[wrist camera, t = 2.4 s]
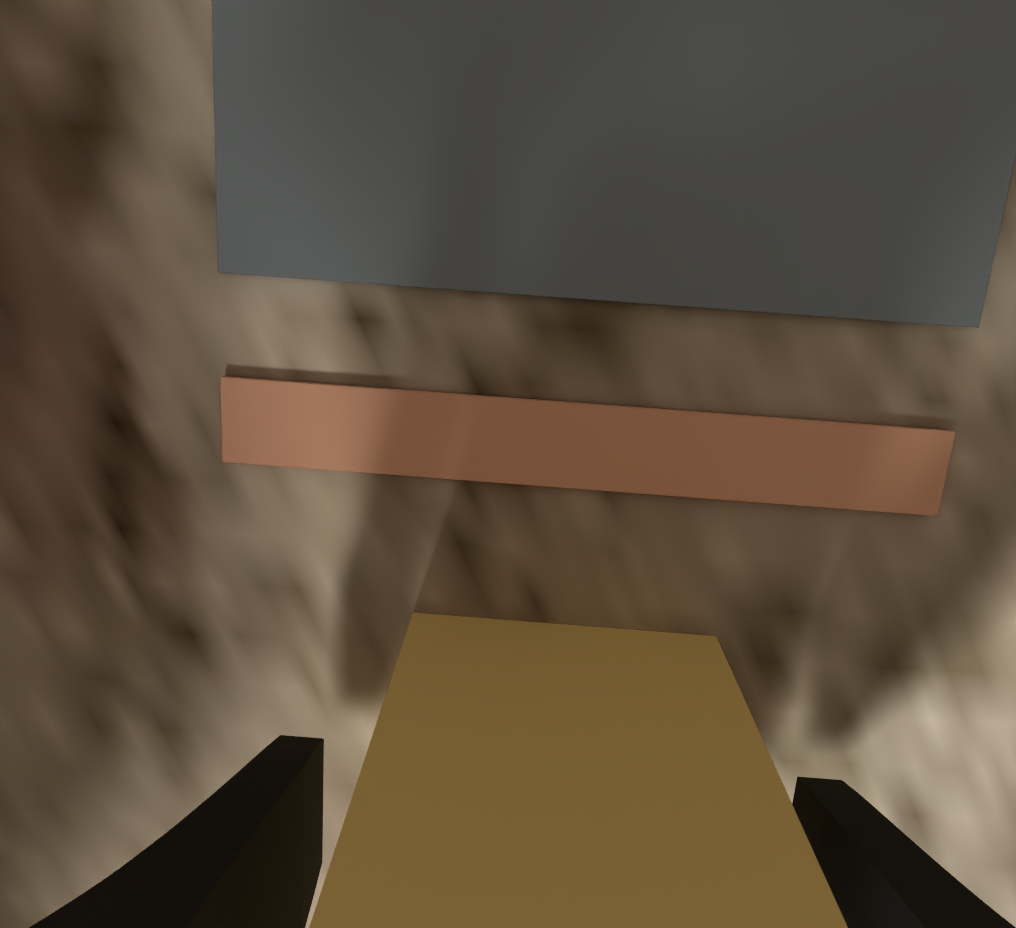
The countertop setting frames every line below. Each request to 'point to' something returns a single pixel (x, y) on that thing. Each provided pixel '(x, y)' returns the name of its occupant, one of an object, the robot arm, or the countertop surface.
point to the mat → (615, 211)
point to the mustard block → (568, 790)
